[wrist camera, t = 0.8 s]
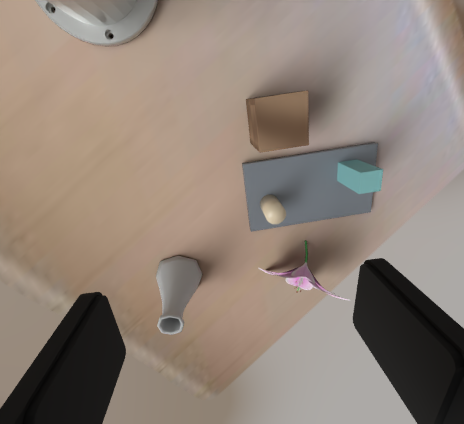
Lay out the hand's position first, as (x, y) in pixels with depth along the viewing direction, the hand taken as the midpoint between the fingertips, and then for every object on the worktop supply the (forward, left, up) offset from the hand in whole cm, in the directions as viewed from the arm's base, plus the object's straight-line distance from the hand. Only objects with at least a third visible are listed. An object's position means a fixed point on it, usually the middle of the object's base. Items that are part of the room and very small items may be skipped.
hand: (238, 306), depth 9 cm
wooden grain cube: (-4, +7, -26) cm, 27 cm away
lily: (+18, +9, -26) cm, 33 cm away
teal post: (+4, +17, -25) cm, 30 cm away
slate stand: (+6, +12, -26) cm, 29 cm away
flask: (+17, -9, -26) cm, 32 cm away
